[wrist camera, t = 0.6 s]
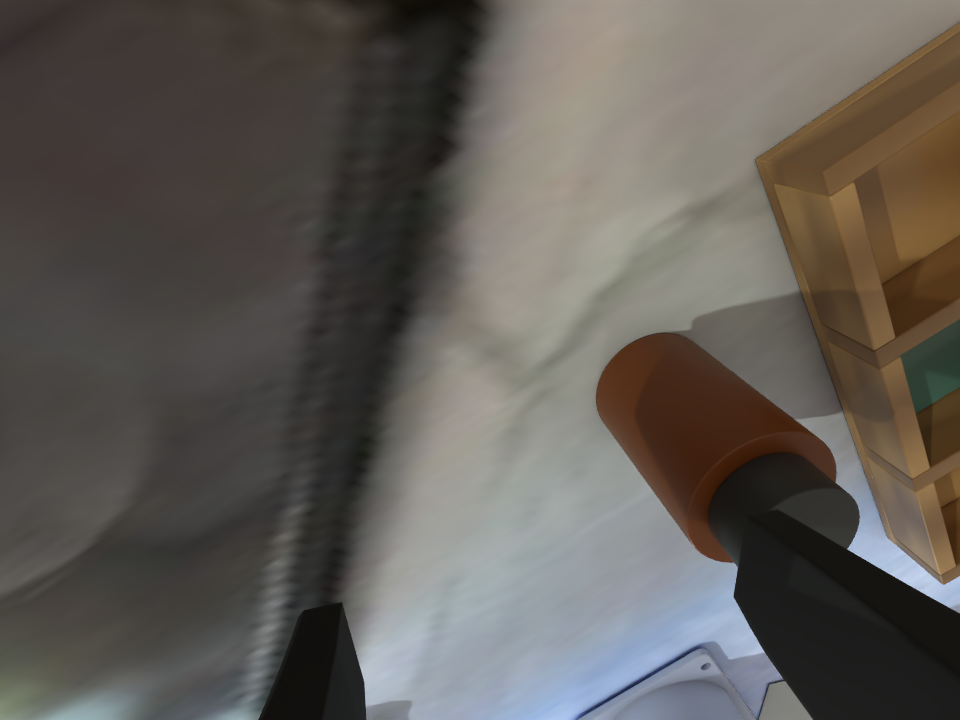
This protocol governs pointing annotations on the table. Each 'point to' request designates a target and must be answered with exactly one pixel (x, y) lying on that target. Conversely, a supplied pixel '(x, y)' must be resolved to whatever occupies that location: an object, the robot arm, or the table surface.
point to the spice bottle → (717, 447)
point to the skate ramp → (782, 704)
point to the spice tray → (888, 283)
